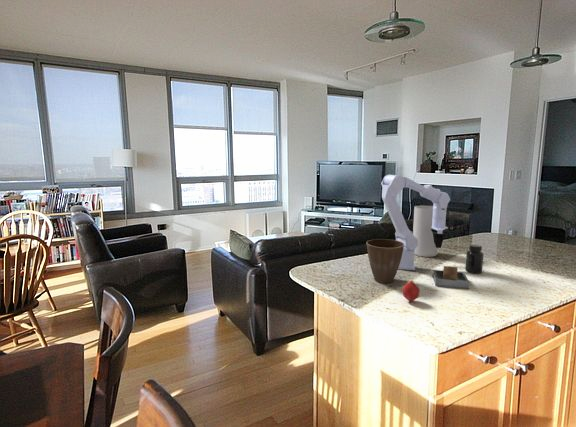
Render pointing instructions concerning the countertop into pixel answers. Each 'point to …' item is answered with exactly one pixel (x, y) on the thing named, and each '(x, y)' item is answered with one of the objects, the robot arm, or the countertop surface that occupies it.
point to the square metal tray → (450, 280)
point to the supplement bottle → (474, 259)
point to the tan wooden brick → (450, 272)
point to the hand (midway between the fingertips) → (437, 245)
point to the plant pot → (384, 258)
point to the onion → (410, 291)
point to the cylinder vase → (424, 231)
